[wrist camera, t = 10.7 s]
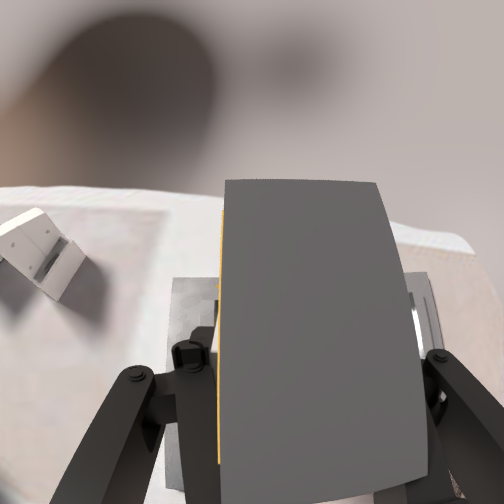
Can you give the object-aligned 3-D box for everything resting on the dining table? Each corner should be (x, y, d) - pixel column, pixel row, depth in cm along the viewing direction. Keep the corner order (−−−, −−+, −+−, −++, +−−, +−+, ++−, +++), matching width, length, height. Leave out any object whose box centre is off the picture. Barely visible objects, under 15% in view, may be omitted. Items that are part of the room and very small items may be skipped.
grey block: (241, 440, 16) (218, 507, 4) (239, 325, 20) (223, 179, 8) (311, 436, 16) (429, 474, 4) (304, 324, 20) (377, 182, 8)
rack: (169, 485, 17) (156, 496, 14) (175, 282, 26) (166, 264, 23) (445, 451, 17) (468, 452, 14) (421, 276, 26) (438, 259, 23)
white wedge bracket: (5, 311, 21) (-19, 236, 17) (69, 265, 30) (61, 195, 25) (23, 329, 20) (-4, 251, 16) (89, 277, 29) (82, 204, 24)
